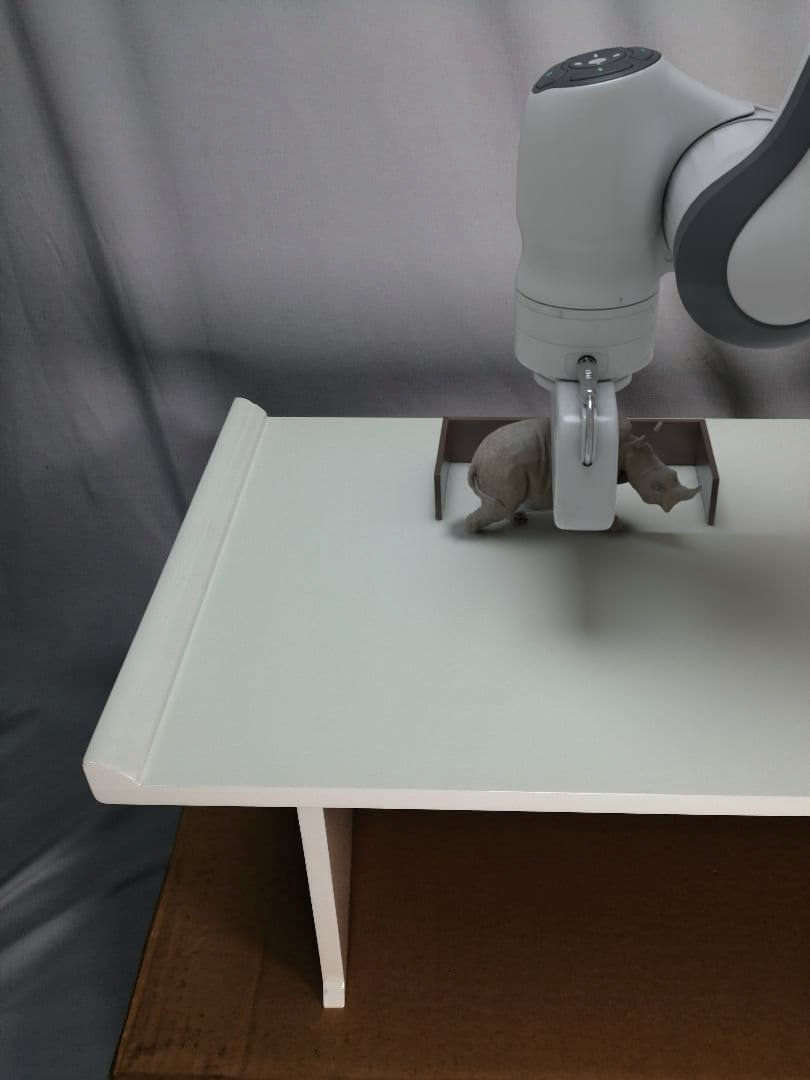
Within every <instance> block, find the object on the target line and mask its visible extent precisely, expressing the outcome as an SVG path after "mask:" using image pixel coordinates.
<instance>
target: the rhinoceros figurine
mask: <svg viewBox="0 0 810 1080" xmlns="http://www.w3.org/2000/svg"><path fill="white" fill-rule="evenodd" d="M547 418H548V417H544V418H536V419H529V420H523V421H519V422H516V423H512V424H509V425H505V426H503V427H501V428H499V429H497V430H496V431H494V432H493V433H491V434H490V435H488V436H487V437H486V438H485V439H484V440H483V441H482V443H481V444H480V445H479V447H478V449H477V450H476V452H475V454H474V457H473V459H472V462H470V465H469V466H468V471H467V479H466V480H467V483H468V486H469V487H470V489H471V490H472V491H473V493H474V494H475V496H477V497H478V498H479V499H480V502H481V505H480V506H479V507H477V509H476V510H474V511H473V512H471V513H469V514H468V515H467V516H466V518H465V521H464V523H463V524H464V527H463V531H464V532H465V533H466V534H476V533H478V532H480V531H481V530H482V529H483V528H485V527H489V526H490V525H492V524H495V523H496V524H497V523H499V522H501V521H503V520H505V519H507V518H508V519H509V520H510V521H511V522H512V523H513V524H514V525H519V526H522V524H523V523H524V520H525V519H529V515H531V512H538V513H549V512H553V488H552V453H551V419H547ZM628 418H629V417H626V416H623V415H618V420H619V448H618V471H617V486H618V485H624V484H629V485H630V486H631V487H632V489H633V490H635V492H636V493H637V494H638V496H639V497H640V498H641V500H642V502H643V503H646V504H647V505H656V506H659V507H660V508H661V509H662V510H663V512H664V513H666V514H668V513H670V512H671V510H673V508H674V507H675V506H676V505H678V504H679V503H681V502H687V501H689V500H693V499H694V498H695V497H696V495H697V494H699V493H701V491H700V490H701V489H702V486H701V485H700V486H699V485H698V486H695V488H689V487H687V486H685V485H682V483H681V482H680V480H679V477H678V472H677V471H676V470H675V469H673V468H670V467H668V466H667V465H665V464H664V463H662V462H661V460H660V459H659V458H658V457H657V455H656V454H655V452H654V451H653V449H652V447H651V445H650V444H649V443H643V442H644V439H645V435H643V436H641V437H640V438H638V437H635V436H633V435H632V434H631V432H630V431H631V429H632V425H631V423H630V420H629V419H628ZM662 425H663V422H659V423H658V424H657V425H656V427H655V428H654V431H655V432H659V431H660V430H661V427H662ZM520 514H521V515H520ZM606 530H607V532H608V533H621V531H622V524H621V521H620V519H619V517H618V516H617V514H615V516H614V520H613V523H612V525H611V527H610V528H609V529H606Z"/></svg>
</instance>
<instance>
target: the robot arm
mask: <svg viewBox="0 0 810 1080" xmlns="http://www.w3.org/2000/svg"><path fill="white" fill-rule="evenodd" d="M783 96H784V97H783V99H782V101H781V103H780V106H779V108H775V107H772V106H769V105H765V104H762V103H758V102H754V101H751V100H746V99H743V98H740V97H737V96H736V97H735V96H733V95H730V94H727V93H724V92H721V91H719V90H717V89H715V88H713V87H711V86H708V85H706V84H704V83H702V82H700V81H699V80H697V79H695V78H693V77H692V76H690V75H689V74H687V73H685V72H683V71H682V70H681V69H679V68H678V67H676V65H674V64H673V63H672V62H670V61H669V60H668V59H667V58H666V57H665V55H663V53H662V52H660V51H658V50H656V49H653V48H648V47H645V46H629V47H624V46H613V47H607V48H601V49H595V50H592V51H591V50H590V51H587V52H583V53H580V54H577V55H574V56H571V57H569V58H567V59H565V60H563V61H561V62H558V63H556V64H554V65H552V66H551V67H550V68H549V69H547V70H546V71H545V72H544V73H543V74H542V75H540V77H539V78H538V80H537V81H536V82H535V83H534V85H533V87H532V88H531V90H530V92H529V94H528V97H527V99H526V102H525V106H524V110H523V115H522V120H521V127H520V133H519V142H518V152H517V166H516V167H517V168H516V187H515V193H516V194H515V215H516V222H517V225H518V228H519V231H520V237H521V253H520V259H519V261H518V264H517V267H516V271H515V275H514V323H513V324H514V326H513V327H514V329H513V352H514V356H515V357H516V359H517V360H518V362H519V363H520V364H522V365H523V366H524V367H526V368H527V369H528V370H530V371H532V377H533V379H534V381H535V383H537V384H538V385H539V386H540V387H542V388H544V389H545V390H547V391H549V414H550V415H549V418H551V453H552V488H553V511H552V514H553V515H552V516H553V520H554V521H553V522H554V524H555V526H556V528H558V529H561V530H565V531H567V530H568V531H605V530H607V529H609V528H610V527H611V525H612V523H613V520H614V516H615V515H616V507H617V490H618V489H617V488H618V487H617V486H618V485H617V471H618V448H619V420H618V416H619V414H618V404H617V397H616V396H617V395H616V392H619V391H621V390H622V389H623V390H624V388H626V387H627V386H628V385H629V384H630V383H631V381H632V379H633V374H635V373H637V372H639V371H642V369H644V368H645V367H646V366H648V365H649V364H650V363H651V361H652V360H653V358H654V354H655V347H656V335H657V334H656V333H657V322H658V321H657V320H658V313H659V312H658V310H659V298H660V287H661V286H660V285H661V278H662V277H664V276H665V275H666V274H668V273H674V275H675V276H674V277H675V283H676V284H675V285H676V289H677V293H678V296H679V299H680V301H681V304H682V306H683V308H684V309H685V311H686V312H687V314H688V316H689V317H690V318H691V319H692V320H693V322H694V323H695V324H696V325H697V326H698V327H699V328H701V329H702V330H703V331H704V332H705V333H706V334H708V335H710V336H711V337H713V338H715V339H716V340H719V341H720V342H723V343H725V344H729V345H731V346H735V347H739V348H744V349H751V350H772V349H780V348H781V349H782V348H786V347H792V346H795V345H798V344H801V343H803V342H807V341H809V340H810V40H809V41H808V43H807V46H806V48H805V50H804V52H803V55H802V56H801V59H800V61H799V64H798V65H797V68H796V70H795V71H794V73H793V77H792V79H791V80H790V83H789V85H788V88H787V90H786V92H785V94H784V95H783Z"/></svg>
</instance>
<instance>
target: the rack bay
mask: <svg viewBox="0 0 810 1080" xmlns="http://www.w3.org/2000/svg"><path fill="white" fill-rule="evenodd" d="M536 418H545V417H542V416H541V417H538V416H536V417H535V416H534V417H533V416H532V417H531V416H530V417H529V416H526V417H525V416H522V417H521V416H443V417H442V421H441V427H440V435H439V441H438V446H437V452H436V458H435V459H436V460H435V464H434V467H435V468H434V472H433V486H434V487H433V489H434V491H433V492H434V515H435V516H434V517H435V520H443V513H444V507H445V498H446V492H447V486H448V485H447V484H448V477H449V470H450V463H471V462H472V459H473V457H474V454H475V452H476V450H477V449H478V447H479V445H480V444H481V443H482V441H483V440H484V439H485V438H486V437H487V436H488V435H490V434H491V433H493V432H494V431H496V430H497V429H499V428H501V427H503V426H505V425H509V424H512V423H516V422H519V421H523V420H529V419H536ZM546 418H547V419H551V418H550V417H546ZM627 418H628V419H629V420H630V423H631V425H632V429H631V431H630V432H631V434H632V435H633V436H635V437H638V438H640V437H641V436H643V435H645V439H644V442H643V443H649V444H650V445H651V447H652V449H653V451H654V452H655V454H656V455H657V457H658V458H659V459H660V460H661V462H662V463H664V464H665V465H666V466H667V465H669V466H670V465H671V466H673V465H674V466H677V465H678V466H694V467H695V472H696V476H697V481H698V487H699V486H700V485H701V486H702V489H701V490H700V495H701V499H702V505H703V510H704V514H705V519H706V524H707V525H715V521H716V512H717V504H718V497H719V487H720V475H719V470H718V467H717V462H716V459H715V454H714V450H713V446H712V442H711V438H710V434H709V429H708V424H707V421H706V418H653V417H652V418H648V417H647V418H645V417H643V418H642V417H634V418H633V417H627ZM659 422H663V425H662V427H661V430H660V431H659V432H655V431H654V428H655V427H656V425H657V424H658V423H659Z"/></svg>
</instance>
